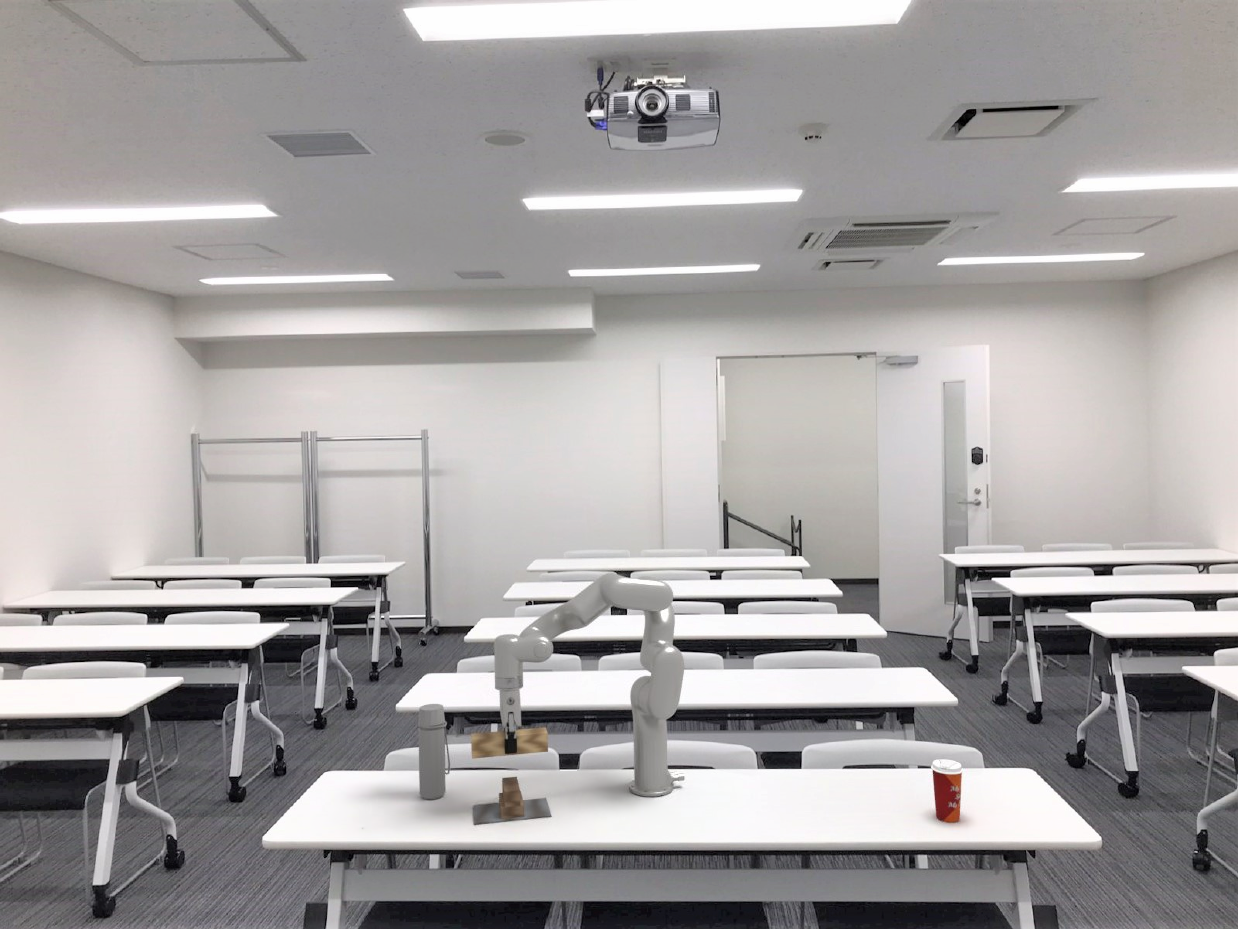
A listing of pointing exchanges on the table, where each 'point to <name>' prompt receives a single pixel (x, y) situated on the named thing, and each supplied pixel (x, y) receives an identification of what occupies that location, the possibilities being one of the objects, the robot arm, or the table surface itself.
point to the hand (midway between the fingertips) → (510, 749)
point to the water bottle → (432, 751)
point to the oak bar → (495, 742)
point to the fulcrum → (510, 806)
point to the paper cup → (947, 789)
